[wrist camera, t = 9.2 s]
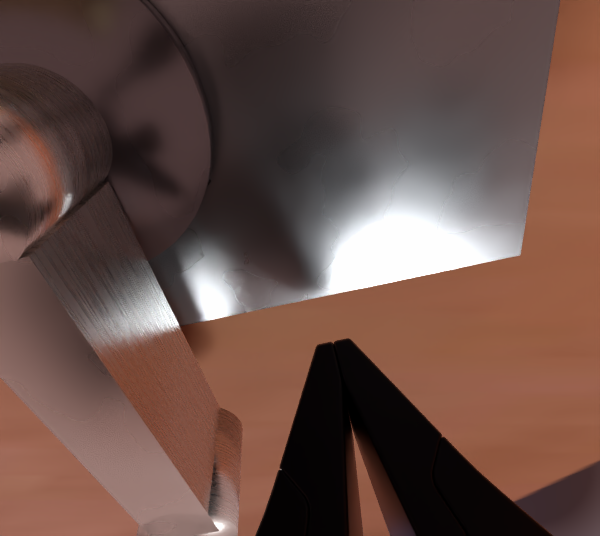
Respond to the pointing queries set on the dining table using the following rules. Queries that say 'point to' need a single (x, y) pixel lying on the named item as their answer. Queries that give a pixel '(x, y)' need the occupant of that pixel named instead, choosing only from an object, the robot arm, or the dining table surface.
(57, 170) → the silver lever handle
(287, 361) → the dining table surface
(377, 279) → the plate
